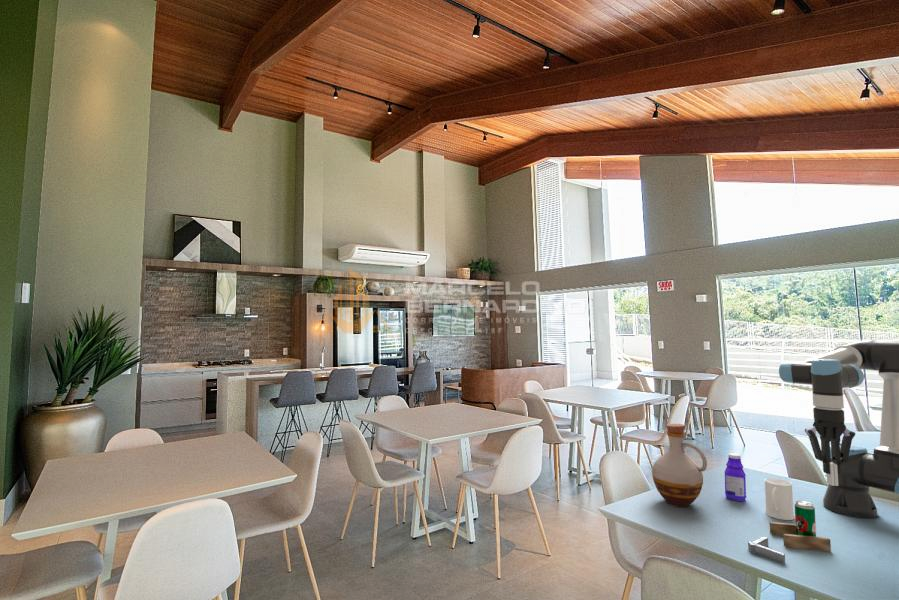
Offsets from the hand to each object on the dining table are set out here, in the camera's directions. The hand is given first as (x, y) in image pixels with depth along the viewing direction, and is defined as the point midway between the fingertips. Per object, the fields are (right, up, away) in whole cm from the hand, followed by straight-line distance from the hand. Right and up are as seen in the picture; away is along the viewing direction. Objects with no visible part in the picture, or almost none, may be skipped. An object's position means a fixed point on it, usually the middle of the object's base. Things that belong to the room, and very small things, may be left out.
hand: (832, 484), depth 142 cm
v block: (-26, -18, -7) cm, 32 cm away
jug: (-31, -21, +32) cm, 50 cm away
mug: (-2, -20, +21) cm, 29 cm away
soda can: (-8, -19, 0) cm, 20 cm away
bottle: (-6, -21, +38) cm, 44 cm away
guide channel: (-10, -19, +1) cm, 21 cm away
